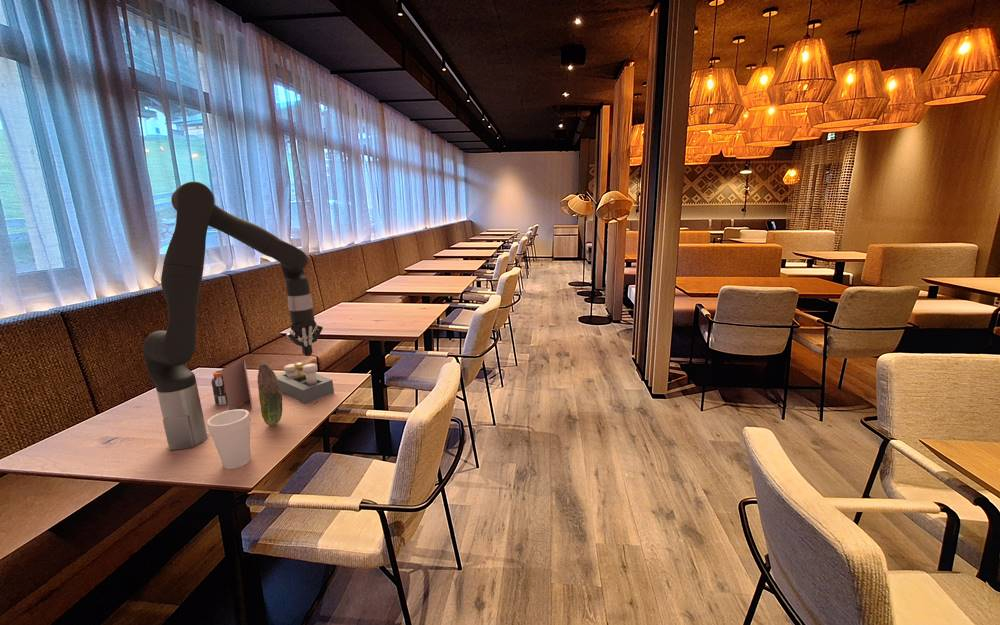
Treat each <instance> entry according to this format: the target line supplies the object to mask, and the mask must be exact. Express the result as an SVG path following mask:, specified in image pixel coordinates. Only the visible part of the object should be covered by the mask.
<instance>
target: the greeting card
mask: <svg viewBox="0 0 1000 625" xmlns="http://www.w3.org/2000/svg"><path fill="white" fill-rule="evenodd" d="M246 365H247V364H246V359H245V357H243V358H242V359H241V358H240V359H239V360H238V361H235V362H234V363H232V364H230V365H228V366H226V367H224V368H221V370H222V375H223V380H224V386H225V391H226V396H227V401H228V404H227V406H228V411H229V410H236V409H237V408H238V407H240V406H241V405H242V404H244V403H245V402H247V401H249V400H250V407H251V408H253V403H252V393H251V388H250V382H249V377H248V370H247V366H246Z"/></svg>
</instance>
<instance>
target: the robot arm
mask: <svg viewBox="0 0 1000 625" xmlns="http://www.w3.org/2000/svg"><path fill="white" fill-rule="evenodd" d="M171 205H172V207H173V208H174V210H175V211H176V220H175V226H174V227H175V228H174V231H173V233H172V235H171V239H170V242H169V243H168V247H167V249H166V252H165V256H164V260H163V266H162V269H161V270H162V272H161V277H160V283H161V289H162V292H163V296H164V298H165V302H166V303H167V308H168V321H167V326H166V327H167V328H166V330H157V331H152V332H151V333H149V334H148V336H146V338H145V339H144V341H143V344H142V354H143V359H144V363H145V366H146V370H147V373H148V376H149V379H150V381H151V383H152V384H153V385H154V386H155V389H156V393H157V398H158V403H159V407H160V410H161V416H162V423H163V428H164V433H165V437H166V441H167V445H168V451H176V450H177V451H178V450H185V449H193V448H195V446H197V445H199V444H202V443H203V442H205V440H207V439H208V433H207V432H208V431H207V427H206V422H205V419H204V418H205V417H204V412H203V408H202V403H201V398H200V394H199V389H198V384H197V379H196V375H195V372H193V371H192V370H190V369H189V368H187V367H186V364H187V363H189V361H191V359H192V357H193V356H194V354H195V352H196V346H197V321H198V320H197V318H198V317H197V316H198V308H199V300H200V292H201V286H202V281H203V274H204V268H205V266H204V265H205V257H206V243H207V233H208V228H209V227H210V228H213V229H215V230H218V231H220V232H221V233H224V234H226V235H228V236H230V237H232V238H233V239H235V240H237V241H239V242H241V243H242V244H245V245H246V246H248V247H250V248H252V250H253V249H254V251H257V252H259V253H260V254H262V255H264V256H267V257H270V258H271V259H274V260H275V261H277V262H278V263H280V267H281V271H282V274H283V277H284V280H285V286H286V287H285V288H286V294H287V305H288V306H287V307H288V312H289V318H290V323H291V326H290V331H289V332H288V333H287V332H286V333H285V337H286V338H287V339H288V340H290V342H292V343H293V344H295V345H296V346H299V347H301V350H302V354H303V355H304V356H305V357H310V356H312V354H313V346H312V344H314V343H316V342H317V340H318V339H319V337H320V334H321V333H322V331H323V326H322V325H318V324H317V322H316V321H315V312H314V311H315V310H314V306H313V305H314V304H313V299H312V298H313V297H312V295H311V291H310V289H311V288H310V284H309V280H308V278H307V276H306V274H305V270H304V269H305V268H306V266H307V265H308V262H309V260H308V256H307V254H306V253H305V251H303V250H302V249H300V248H298V247H296V246H295V245H293V244H290V243H289V242H286V241H284V240H282V239H281V238H279V237H278V236H277V235H275V234H273V233H272V232H270V231H268V230H267V229H265V228H263V227H262V226H259V225H258V224H255V223H253V222H251V221H249V220H246V219H244V218H241V217H238V216H236V215H234V214H232V213H229V212H228V211H225V209H222V208H220V207H219V206H218V205H217V204H215V196H214V193H213V192H212V190H211V188H210V187H208V186H207V185H206V184H205V183H202V182H200V181H188V182H185V183H183V184H180V185H179V186H178V187H177V189H175V190H174V192H173V193H172V195H171ZM296 336H297V337H298V338H296Z"/></svg>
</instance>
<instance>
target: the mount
mask: <svg viewBox="0 0 1000 625" xmlns="http://www.w3.org/2000/svg"><path fill="white" fill-rule="evenodd" d="M316 376H317V384H315V385H312V386H307V380H303V381H301V382H299V380H298V374H297V376H294V377H291V378H288V377H287V373H286V372H284V373H280V374H277V375H276V377H277V380H278V383H279V386H280V389H281V394H283V395H285V396H287V397H290V398H291V399H295V400H296V401H297V402H300V403H303V404H305V405H306V404H309V403H311V402H315V401H316V400H320V399H321V398H324V397H326V396H329V395H332V394H335V390H334V389H335V388H334V382H333V379H330V378H328V377H325V376H323V375H321V374H318V373H316ZM305 378H306V373H305Z"/></svg>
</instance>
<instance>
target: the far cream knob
mask: <svg viewBox="0 0 1000 625" xmlns="http://www.w3.org/2000/svg"><path fill="white" fill-rule="evenodd" d="M294 364H295V363H289V364H286V365H284V366H283V369H284V370H283V371H284V373H287V377H288V378H291V377H294V376H297V370H296V369H295V366H294Z"/></svg>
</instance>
